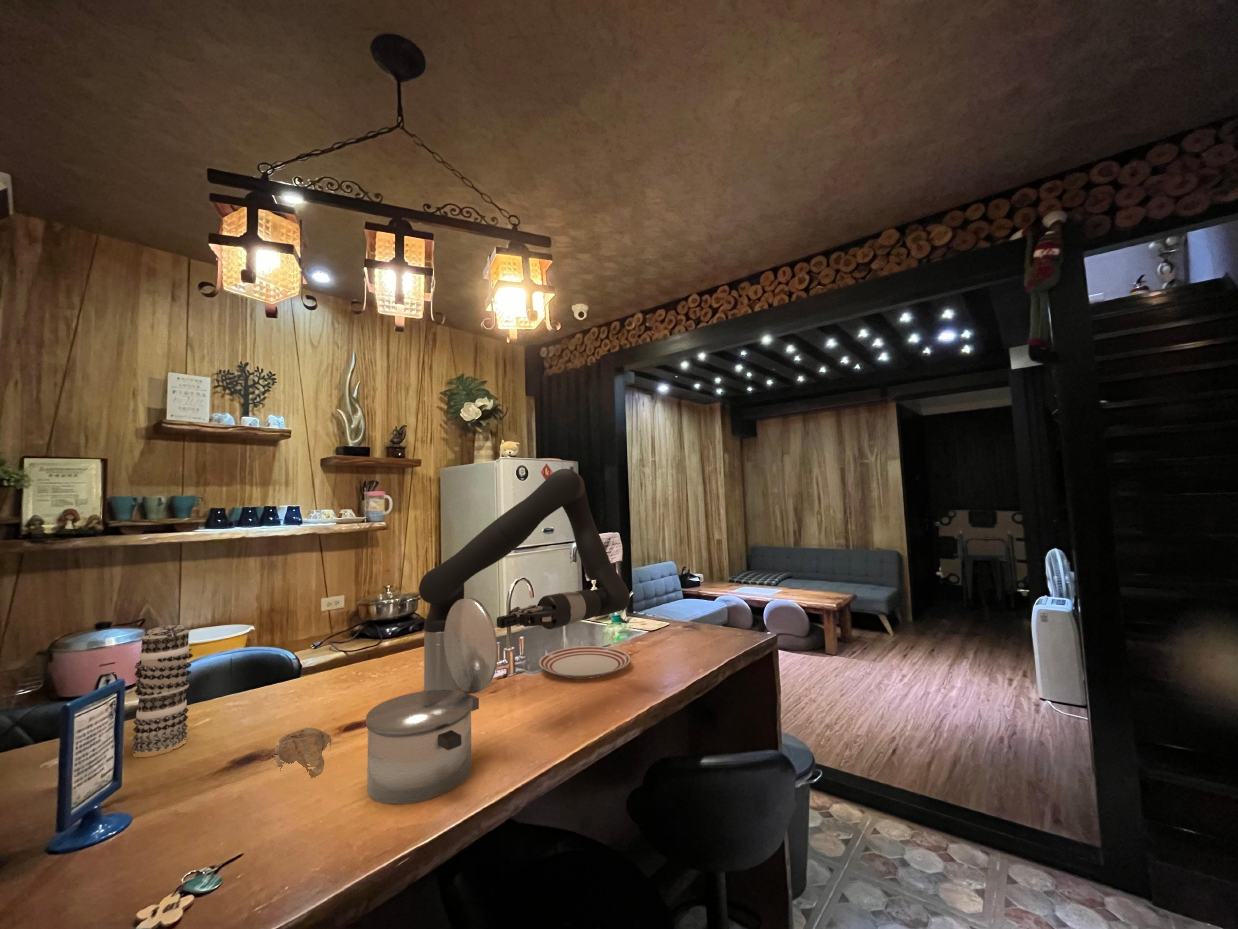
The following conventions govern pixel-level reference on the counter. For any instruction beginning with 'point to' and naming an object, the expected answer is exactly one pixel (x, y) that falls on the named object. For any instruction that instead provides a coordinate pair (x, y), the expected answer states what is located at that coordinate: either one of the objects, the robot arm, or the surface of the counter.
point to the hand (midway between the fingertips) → (498, 623)
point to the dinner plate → (584, 661)
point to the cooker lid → (470, 645)
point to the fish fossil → (303, 749)
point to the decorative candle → (162, 689)
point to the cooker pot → (419, 745)
